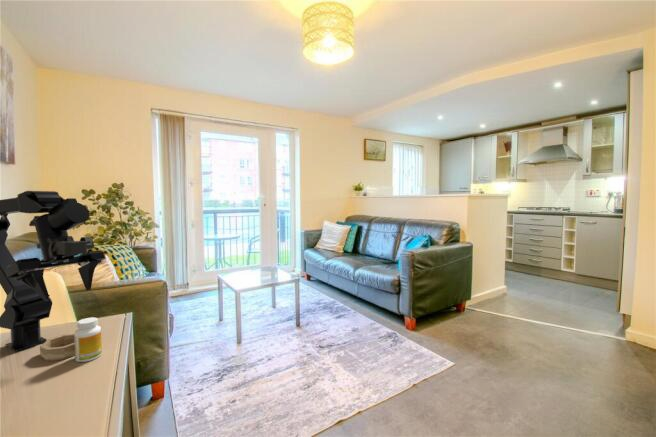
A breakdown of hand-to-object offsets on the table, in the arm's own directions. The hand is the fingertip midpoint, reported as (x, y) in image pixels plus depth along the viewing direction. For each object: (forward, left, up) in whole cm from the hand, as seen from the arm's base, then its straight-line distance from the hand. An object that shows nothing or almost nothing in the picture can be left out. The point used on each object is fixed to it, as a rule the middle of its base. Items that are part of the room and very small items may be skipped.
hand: (69, 294), depth 75 cm
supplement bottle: (+4, +2, -16) cm, 17 cm away
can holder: (-4, 0, -16) cm, 17 cm away
